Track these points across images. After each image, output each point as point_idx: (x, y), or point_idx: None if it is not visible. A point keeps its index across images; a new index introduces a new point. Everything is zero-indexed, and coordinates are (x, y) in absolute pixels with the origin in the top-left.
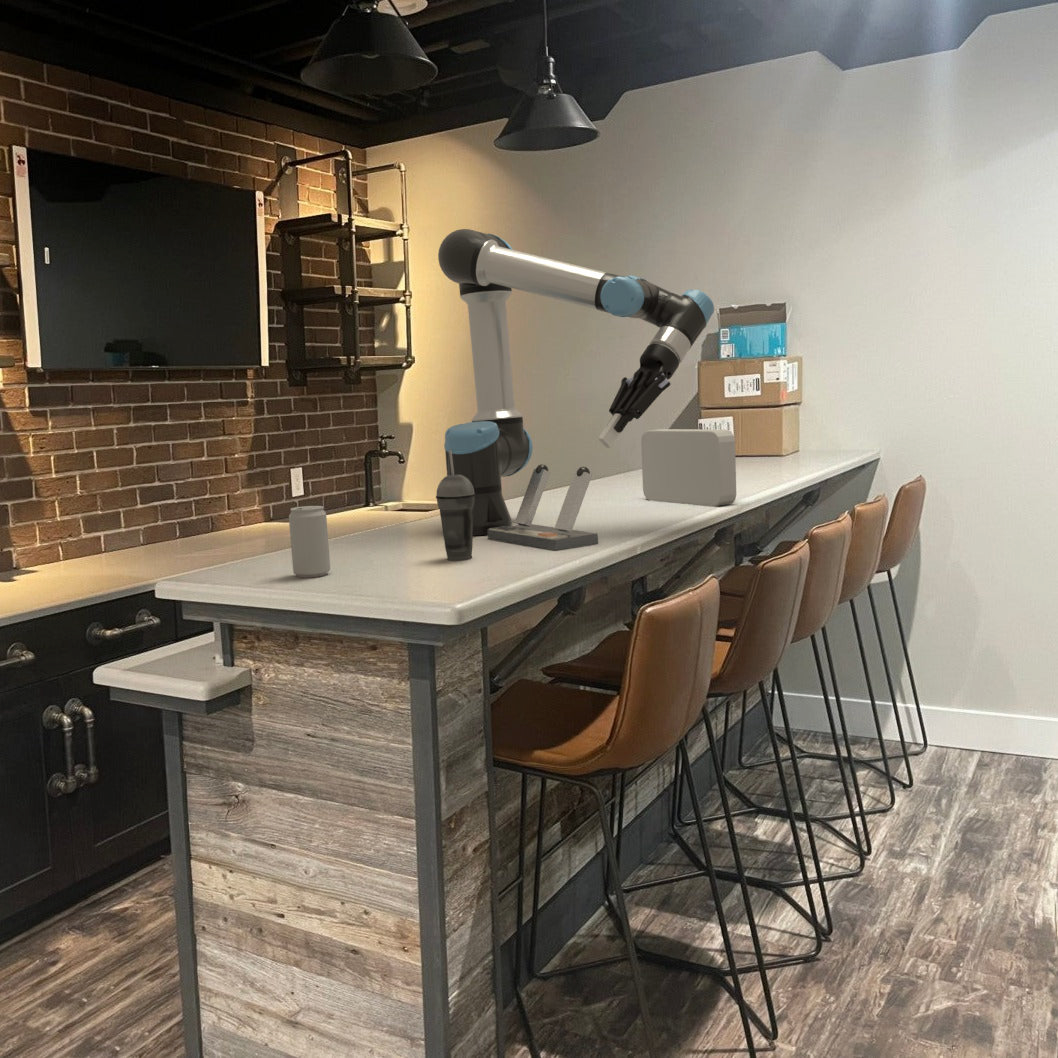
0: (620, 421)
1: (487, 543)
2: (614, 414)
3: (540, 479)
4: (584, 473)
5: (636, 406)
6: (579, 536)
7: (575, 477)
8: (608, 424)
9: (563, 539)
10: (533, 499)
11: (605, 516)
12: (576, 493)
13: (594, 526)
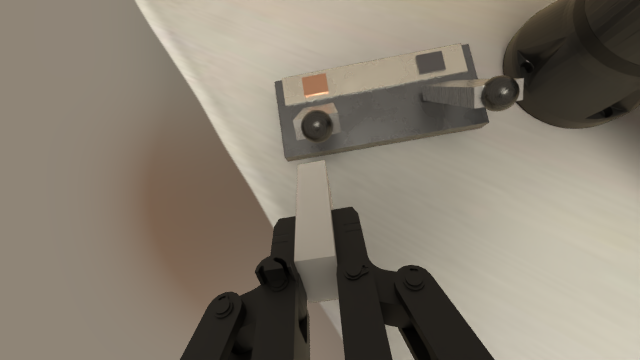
0: (277, 245)
1: (416, 39)
2: (333, 251)
3: (461, 86)
4: (297, 119)
5: (195, 339)
6: (280, 123)
7: (326, 112)
8: (322, 204)
9: (277, 95)
10: (440, 87)
11: (610, 355)
12: (303, 113)
13: (475, 255)
